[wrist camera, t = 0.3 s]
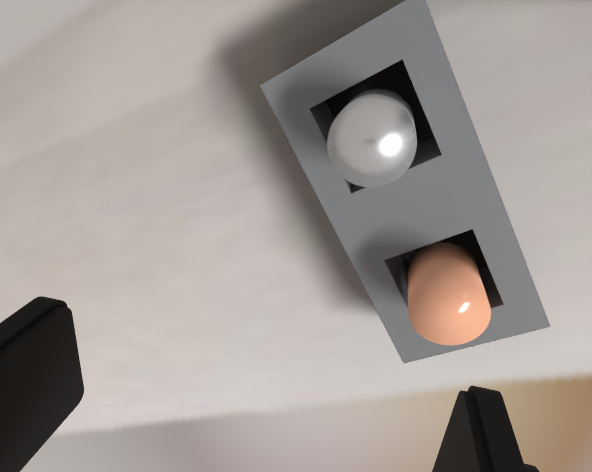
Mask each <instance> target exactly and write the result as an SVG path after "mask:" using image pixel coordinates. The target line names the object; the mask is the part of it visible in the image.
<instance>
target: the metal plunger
mask: <svg viewBox="0 0 592 472" xmlns="http://www.w3.org/2000/svg"><path fill="white" fill-rule="evenodd" d="M327 149H328V155H329V158H330V161H331V163H332V165H333V167H334V168H335V170H336V171H337V172H338V173H339V174H340V175H341V176H342V177H343V178H344V179H345V180H347V181H349V182H350V183H353V184H355V185H358V186H362V187H380V186H384V185H387V184H390V183H392V182H394V181H395V180H397V179H398V178H400V177H401V176H402V175H403V174H404V173H405V172H406V171H407V169H408V168H409V167H410V165H411V163H412V161H413V159H414V156H415V153H416V149H417V136H416V129H415V123H414V117H413V113H412V110H411V108H410V106H409V105H408V103H407V102H406V101H405V100H404V99H403V98H402V97H401V96H400V95H398V94H397V93H395V92H393V91H390V90H386V89H370V90H367V91H364V92H362V93H360V94H358V95H356V96H355V97H354V98H353V99H352V100H351V101H350V102H349V103H348V104H347V105H346V106H345V107H344V109H343V110H342V111H341V112H340V113H339V114H338V116H337V117H336V118H335V120H334V121H333V123H332V125H331V127H330V130H329V134H328V139H327Z"/></svg>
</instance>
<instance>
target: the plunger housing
mask: <svg viewBox="0 0 592 472" xmlns="http://www.w3.org/2000/svg"><path fill="white" fill-rule="evenodd" d="M400 60H403V62H404V64H405V67H406V69H407V72H408V74H409V76H410V79H411V81H412V84H413V86H414V89H415V91H416V93H417V96H418V98H419V101H420V103H421V105H422V108H423V110H424V113H425V115H426V118H427V120H428V122H429V125H430V127H431V130H432V132H433V134H434V137H432V138H430V139H428V140H426V141H424V142H421V143H419V144H417V149H416V153H415V156H414V159H413V161H412V163H411V165H410V167H409V168H408V169H407V171H406V172H405V173H404V174H403V175H402V176H401V177H400V178H398V179H397V180H395V181H394V182H392V183H390V184H387V185H384V186H380V187H362V186H358V185H355V184H353V183H350V182H349V181H347V180H345V179H344V178H343V177H342V176H341V175H340V174H339V173H338V172H337V171H336V170H335V168H334V167H333V165H332V163H331V161H330V158H329V155H328V149H327V139H328V134H329V130H330V127H331V125H332V123H333V121H334V120H335V119H334V117H333V115H332V113H331V111H330V109H329V107H328V105H327V103H326V100H327V99H329V98H331V97H332V96H334V95H336V94H338V93H340V92H342V91H344V90H346V89H348V88H349V87H351V86H353V85H355V84H357V83H359V82H361V81H363V80H364V79H366V78H368V77H370V76H372V75H374V74H376V73H378V72H379V71H381V70H383V69H385V68H387V67H389V66H391V65H393V64H394V63H396V62H398V61H400ZM260 87H261V89H262V91H263V93H264V95H265V97H266V99H267V101H268V103H269V105H270V106H271V108H272V110H273V112H274V114H275V116H276V118H277V120H278V122H279V124H280V126H281V128H282V130H283V132H284V133H285V135H286V137H287V139H288V141H289V143H290V145H291V147H292V149H293V151H294V153H295V155H296V157H297V159H298V160H299V162H300V164H301V166H302V168H303V170H304V172H305V174H306V176H307V178H308V180H309V182H310V184H311V186H312V188H313V189H314V191H315V193H316V195H317V197H318V199H319V201H320V203H321V205H322V207H323V209H324V211H325V213H326V215H327V216H328V218H329V220H330V222H331V224H332V226H333V228H334V230H335V232H336V234H337V236H338V238H339V240H340V242H341V243H342V245H343V247H344V249H345V251H346V253H347V255H348V257H349V259H350V261H351V263H352V265H353V267H354V269H355V270H356V272H357V274H358V276H359V278H360V280H361V282H362V284H363V286H364V288H365V290H366V292H367V294H368V296H369V297H370V299H371V301H372V303H373V305H374V307H375V309H376V311H377V313H378V315H379V317H380V319H381V321H382V323H383V324H384V326H385V328H386V330H387V332H388V334H389V336H390V338H391V340H392V342H393V344H394V346H395V348H396V350H397V351H398V353H399V355H400V357H401V359H402V361H403V363H408V362H412V361H416V360H420V359H424V358H428V357H432V356H436V355H440V354H444V353H448V352H452V351H456V350H460V349H464V348H468V347H471V346H475V345H479V344H483V343H487V342H491V341H495V340H499V339H503V338H507V337H511V336H515V335H519V334H523V333H527V332H531V331H535V330H539V329H543V328H547V327H550V324H549V322H548V319H547V316H546V314H545V311H544V309H543V306H542V303H541V301H540V298H539V296H538V293H537V290H536V288H535V285H534V282H533V280H532V277H531V275H530V272H529V269H528V267H527V264H526V262H525V259H524V256H523V254H522V251H521V249H520V246H519V243H518V241H517V238H516V236H515V233H514V230H513V228H512V225H511V222H510V220H509V217H508V215H507V212H506V209H505V207H504V204H503V202H502V199H501V196H500V194H499V191H498V189H497V186H496V183H495V181H494V178H493V176H492V173H491V170H490V168H489V165H488V162H487V160H486V157H485V155H484V152H483V149H482V147H481V144H480V142H479V139H478V136H477V134H476V131H475V129H474V126H473V123H472V121H471V118H470V116H469V113H468V110H467V108H466V105H465V103H464V100H463V97H462V95H461V92H460V89H459V87H458V84H457V82H456V79H455V76H454V74H453V71H452V69H451V66H450V63H449V61H448V58H447V56H446V53H445V50H444V48H443V45H442V43H441V40H440V37H439V35H438V32H437V29H436V27H435V24H434V22H433V19H432V16H431V14H430V11H429V9H428V6H427V3H426V1H425V0H405V1H403V2H402V3H400V4H398V5H397V6H395V7H393V8H391V9H390V10H388V11H386V12H385V13H383V14H381V15H379V16H378V17H376V18H374V19H373V20H371V21H369V22H367V23H366V24H364V25H362V26H361V27H359V28H357V29H356V30H354V31H352V32H350V33H349V34H347V35H345V36H344V37H342V38H340V39H338V40H337V41H335V42H333V43H332V44H330V45H328V46H326V47H325V48H323V49H321V50H320V51H318V52H316V53H314V54H313V55H311V56H309V57H308V58H306V59H304V60H303V61H301V62H299V63H297V64H296V65H294V66H292V67H291V68H289V69H287V70H285V71H284V72H282V73H280V74H279V75H277V76H275V77H273V78H272V79H270V80H268V81H267V82H265V83H263V84H261V85H260ZM471 229H473V231H474V234H475V236H476V238H477V241H478V243H479V246H480V248H481V250H482V253H483V255H484V258H485V260H486V262H487V265H488V266H486V267H482V268H479V269H478V271H479V274H480V277H481V280H482V283H483V286H484V289H485V292H486V295H487V298H488V301H489V304H490V308H491V318H490V322H489V324H488V326H487V328H486V329H485V330H484V332H483V333H482V334H481V335H480V336H478V337H477V338H475V339H474V340H472V341H470V342H467V343H464V344H460V345H441V344H436V343H433V342H431V341H428V340H427V339H425V338H423V337H422V336H421V335H419V334H418V333H417V332H416V331H415V329H414V328H413V326H412V325H411V322H410V319H409V313H408V273H407V270H406V268H405V266H404V263H403V261H402V259H401V257H400V254H403V253H406V252H409V251H412V250H415V249H417V248H420V247H423V246H426V245H429V244H432V243H434V242H437V241H440V240H443V239H446V238H449V237H452V236H454V235H457V234H460V233H463V232H466V231H469V230H471Z"/></svg>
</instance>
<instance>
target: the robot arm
mask: <svg viewBox="0 0 592 472" xmlns="http://www.w3.org/2000/svg"><path fill="white" fill-rule="evenodd" d="M83 393H84V386H83V379H82V373H81V367H80V361H79V354H78V348H77V342H76V335H75V329H74V323H73V316H72V312H71V310H70V309H69V308H68V307H67V304H66V303H65V302H64V301H61V300H57V299H52V298H47V297H37V298H35V299H33V300H32V301H31V302H29V303H28V304H26V305H25V306H24V307H22V308H21V309H19V310H18V311H17V312H15V313H14V314H12V315H11V316H10V317H8V318H7V319H5V320H4V321H3V322H1V323H0V472H20V471H21V470H22V468H23V467H24V466H25V465H26V464H27V463H28V461H29V460H30V459H31V458H32V457H33V456H34V455H35V453H36V452H37V451H38V450H39V449H40V448H41V446H42V445H43V444H44V443H45V442H46V441H47V440H48V439H49V437H50V436H51V435H52V434H53V433H54V432H55V430H56V429H57V428H58V427H59V426H60V425H61V424H62V422H63V421H64V420H65V419H66V418H67V417H68V416H69V414H70V413H71V412H72V411H73V410H74V409H75V408H76V406H77V405H78V404H79V403H80V401H81V399H82V397H83ZM432 472H539V470H538V469H537V468H536V467H535V466H532V465H528V464H524V463H523V460H522V457H521V454H520V451H519V447H518V444H517V441H516V438H515V435H514V432H513V429H512V425H511V422H510V419H509V417H508V413H507V410H506V407H505V404H504V401H503V397H502V395H501V393H500V392H499V391H495V390H490V389H486V388H481V387H476V386H470V388H469V389H468V391H467V392H466V391H460V392H459V394H458V397H457V400H456V403H455V406H454V408H453V412H452V414H451V417H450V420H449V423H448V426H447V429H446V432H445V435H444V438H443V441H442V444H441V447H440V450H439V453H438V456H437V459H436V462H435V465H434V468H433V471H432Z"/></svg>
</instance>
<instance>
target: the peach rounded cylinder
mask: <svg viewBox="0 0 592 472" xmlns="http://www.w3.org/2000/svg"><path fill="white" fill-rule="evenodd" d="M407 273H408V313H409V319H410V322H411V325H412V326H413V328H414V329H415V331H416V332H417V333H418V334H419V335H421V336H422V337H423V338H425V339H427V340H428V341H431V342H433V343H436V344H441V345H460V344H464V343H467V342H470V341H472V340H474V339H475V338H477V337H478V336H480V335H481V334H482V333H483V332H484V330H485V329H486V328H487V326H488V324H489V322H490V318H491V308H490V304H489V301H488V298H487V295H486V292H485V289H484V286H483V283H482V280H481V277H480V274H479V271H478V268H477V265H476V262H475V260H474V258H473V257H472V255H471V254H470V253H469V252H468V251H467V250H466V249H464V248H463V247H461V246H459V245H456V244H453V243H447V242H438V243H433V244H429V245H427V246H425V247H423V248H421V249H420V250H418V251H417V252H416V253H415V254H414V255H413V257H412V258H411V260H410V262H409V265H408V271H407Z"/></svg>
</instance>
